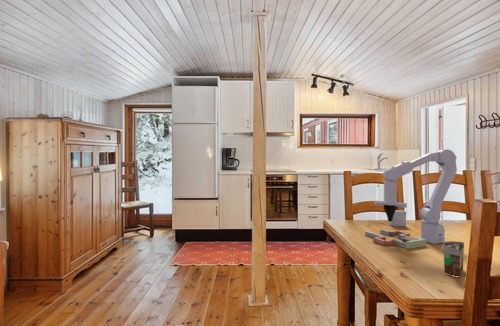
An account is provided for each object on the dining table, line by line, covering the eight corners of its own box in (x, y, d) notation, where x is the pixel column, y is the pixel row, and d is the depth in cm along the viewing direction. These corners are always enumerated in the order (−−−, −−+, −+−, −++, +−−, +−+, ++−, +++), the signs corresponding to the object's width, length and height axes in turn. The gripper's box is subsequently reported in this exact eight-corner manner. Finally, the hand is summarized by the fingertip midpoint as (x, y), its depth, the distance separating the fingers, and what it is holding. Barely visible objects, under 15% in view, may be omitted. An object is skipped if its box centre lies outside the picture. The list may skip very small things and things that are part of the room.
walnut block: (417, 245, 148) (417, 239, 148) (410, 247, 146) (410, 240, 146) (408, 243, 152) (408, 236, 152) (401, 244, 150) (401, 238, 150)
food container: (444, 265, 121) (444, 239, 121) (463, 269, 118) (464, 241, 117) (437, 275, 112) (438, 246, 112) (458, 279, 108) (459, 249, 108)
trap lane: (434, 244, 149) (434, 238, 149) (398, 250, 140) (398, 243, 140) (389, 231, 173) (389, 226, 173) (356, 236, 164) (356, 230, 164)
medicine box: (403, 225, 190) (403, 210, 190) (406, 226, 186) (406, 211, 185) (389, 224, 191) (389, 210, 190) (391, 226, 186) (391, 211, 186)
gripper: (408, 193, 157) (408, 221, 157) (377, 191, 166) (377, 217, 166) (404, 195, 151) (404, 224, 152) (373, 192, 161) (372, 220, 161)
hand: (390, 221), depth 159 cm, fingers closed
